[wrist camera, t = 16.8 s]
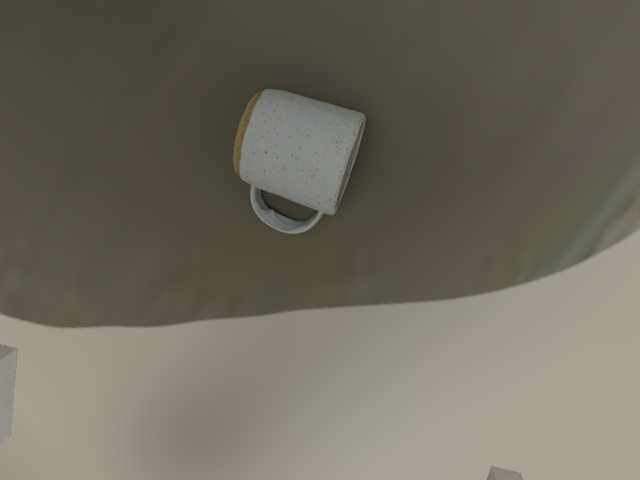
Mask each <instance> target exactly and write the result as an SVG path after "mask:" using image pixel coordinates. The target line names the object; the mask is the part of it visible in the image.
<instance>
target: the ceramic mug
mask: <svg viewBox="0 0 640 480" xmlns="http://www.w3.org/2000/svg"><path fill="white" fill-rule="evenodd" d="M365 122H366V116H365V115H364V114H363V113H360V112H357V111H354V110H350V109H346V108H343V107H339V106H336V105H333V104H329V103H326V102H323V101H319V100H315V99H311V98H308V97H304V96H301V95H298V94H294V93H291V92H288V91H284V90H275V89H263V90H260V91H259V92H258V93H256V94H255V95H254V96H253V97H252V98H251V100H250V101H249V103H248V105H247V107H246V109H245V111H244V113H243V116H242V118H241V121H240V124H239V127H238V131H237V134H236V139H235V145H234V151H233V166H234V169H235V172H236V174H237V175H238V177H239V178H240V179H242V180H243V181H245V182H247V183H249V184H250V185H251V190H250V199H251V203H252V207H253V209H254V211H255V213H256V214H257V216H258V217H259V218H260V219H261V220H262V221H263V222H264V223H266V224H267V225H269V226H270V227H272V228H274V229H276V230H278V231H281V232H284V233H289V234H298V233H302V232H304V231H307V230H308V229H310V228H312V227H313V226H314V225H315V224H316V223H317V222H318V221H319V220H320V218H321V217H322V215H323V213H325V214H328V215H334V214H335V212H336V211H337V208H338V206H339V204H340V201H341V198H342V196H343V193H344V191H345V188H346V185H347V183H348V180H349V176H350V173H351V170H352V168H353V165H354V162H355V159H356V155H357V153H358V149H359V146H360V142H361V138H362V135H363V131H364V128H365ZM260 189H261V190H264V191H267V192H270V193H273V194H276V195H279V196H282V197H284V198H287V199H289V200H292V201H294V202H297V203H299V204H302V205H304V206H307V207H309V208H312V209H314V210H317V213H316V214H315V215H314V216H313V217H311V218H310V219H308V220H305V221H295V220H292V219H290V218H287V217H285V216H283V215H280V214H278V213H276V212H275V211H274V210H272V209H269V208H268V207H267V206H266V205H265V203H264V201H263V199H262V197H261V191H260Z"/></svg>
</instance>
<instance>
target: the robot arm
mask: <svg viewBox="0 0 640 480" xmlns="http://www.w3.org/2000/svg"><path fill="white" fill-rule="evenodd" d="M17 350H18V349H17V348H13V347H9V346H5V345H1V344H0V444H1V443H2V442H3V441H4V440H6V439H7V438H8V437H9V436H10V435H11V424H12V412H13V398H14V387H15V374H16V362H17ZM487 480H523V478H522V476H521V473H518V472H514V471H510V470H506V469H502V468H498V467H493V466H491V469H490V472H489V475H488V478H487Z"/></svg>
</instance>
